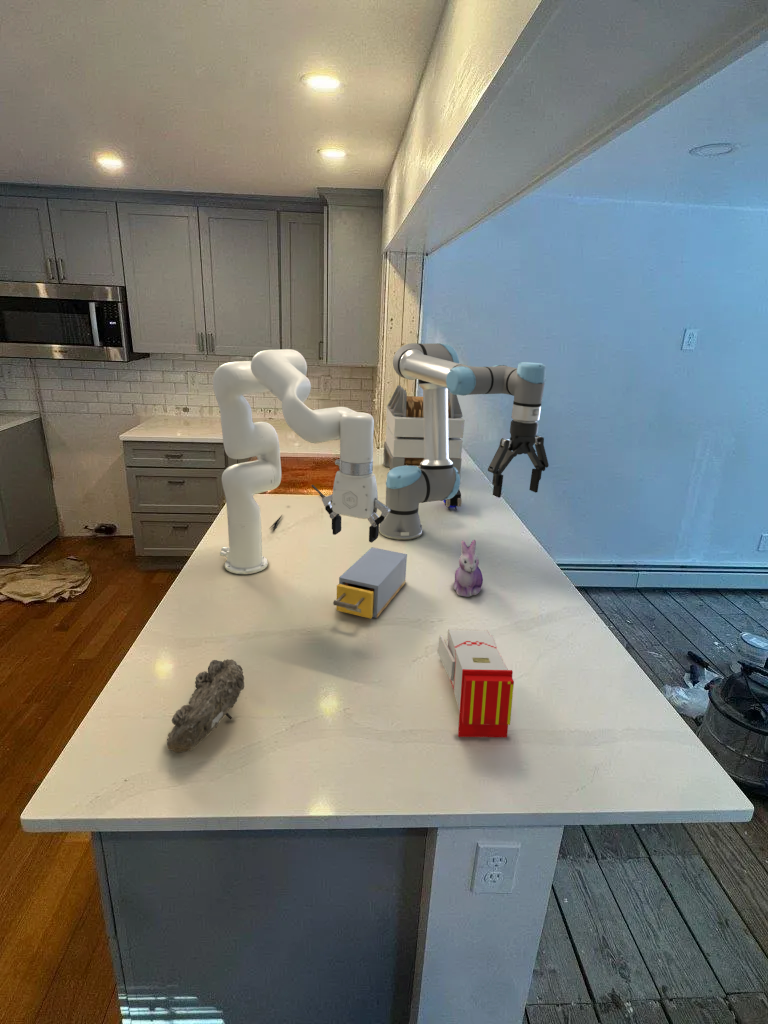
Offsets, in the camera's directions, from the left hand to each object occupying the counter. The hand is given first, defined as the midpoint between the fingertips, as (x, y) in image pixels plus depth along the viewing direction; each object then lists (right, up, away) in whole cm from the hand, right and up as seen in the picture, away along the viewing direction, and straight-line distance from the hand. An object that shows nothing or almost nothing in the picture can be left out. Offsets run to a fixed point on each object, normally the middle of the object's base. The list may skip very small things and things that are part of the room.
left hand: (354, 536), depth 135 cm
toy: (+25, -32, -17) cm, 44 cm away
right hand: (+45, +11, +28) cm, 54 cm away
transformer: (+24, +25, +140) cm, 144 cm away
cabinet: (+4, -17, +21) cm, 28 cm away
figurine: (+31, -16, +26) cm, 44 cm away
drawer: (+2, -18, +16) cm, 24 cm away
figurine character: (+34, +8, +95) cm, 101 cm away
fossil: (-26, -33, -27) cm, 50 cm away
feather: (-31, +3, +73) cm, 80 cm away
